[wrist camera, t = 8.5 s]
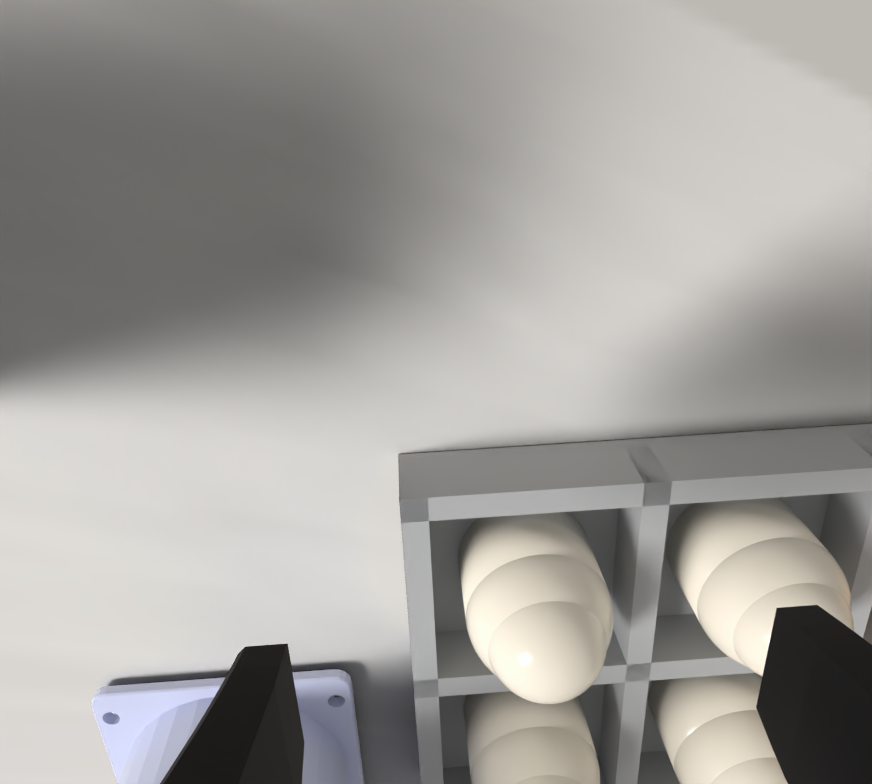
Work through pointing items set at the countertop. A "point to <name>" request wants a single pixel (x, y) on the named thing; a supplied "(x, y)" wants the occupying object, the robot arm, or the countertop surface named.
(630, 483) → the egg carton
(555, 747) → the cream eggs
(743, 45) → the countertop surface
